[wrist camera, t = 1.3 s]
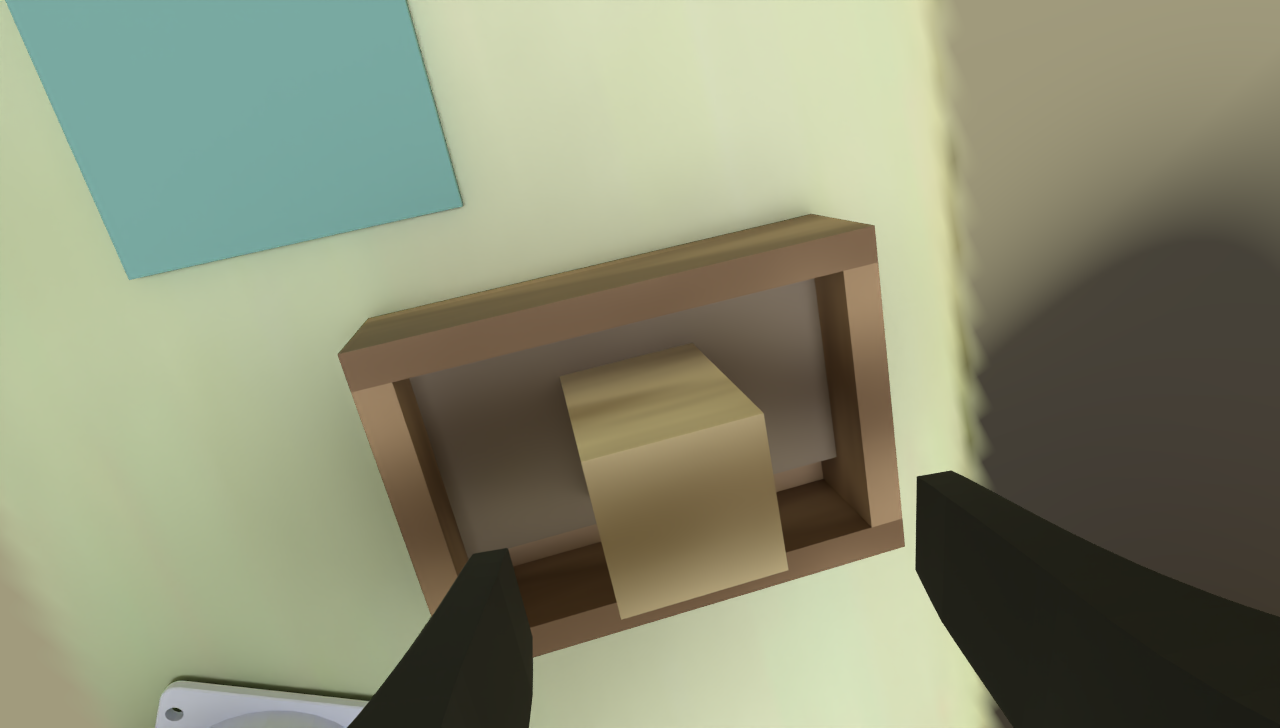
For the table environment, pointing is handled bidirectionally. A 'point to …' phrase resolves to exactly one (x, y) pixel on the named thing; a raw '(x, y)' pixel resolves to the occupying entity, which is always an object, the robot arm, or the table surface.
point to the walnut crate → (611, 332)
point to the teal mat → (240, 120)
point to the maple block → (675, 477)
